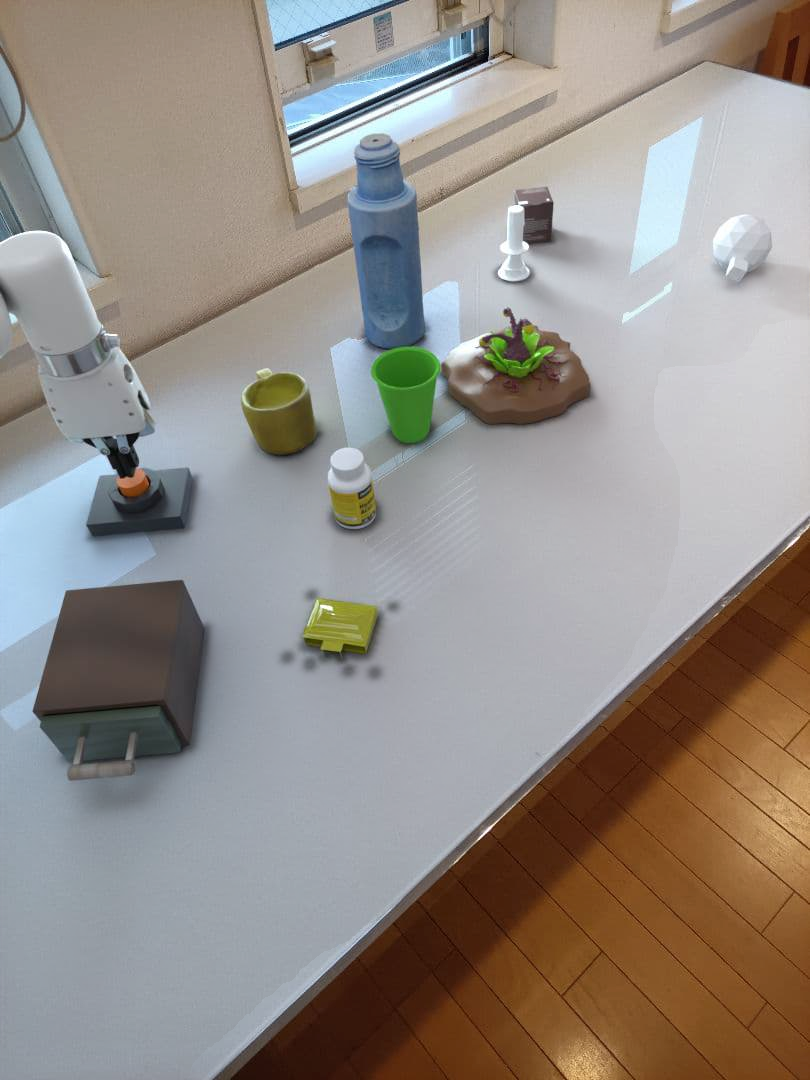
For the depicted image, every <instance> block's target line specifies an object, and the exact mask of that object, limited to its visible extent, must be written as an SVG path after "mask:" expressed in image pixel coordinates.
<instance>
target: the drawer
mask: <svg viewBox="0 0 810 1080" xmlns="http://www.w3.org/2000/svg"><path fill="white" fill-rule="evenodd" d="M39 728H40V730H41V732H43V733H44V735H45V736H47V738H48V739H49V740H50V741H51V743H52V744H53V745H54V746H55V747H56V749H57V750H58V751H59V752H60V753H61V754H62V756H63V757H64V758H65V760H66V761H67V762H68V763H70V762H72V765H69V766H68V767H67V772H66V776H67V781H69V782H77V781H85V780H87V781H88V780H97V779H108V778H119V777H120V778H121V777H131V776H135V774H136V773H137V771H136V770H137V765H136V761H135V757H139V756H150V755H151V756H153V755H162V754H172V753H181V749H182V746H181V740H180V738H179V737H178V735H177V733H176V731H175V730H174V728H173V726H172V725H171V723H170V721H169V720H168V718H167V716H166V714H165V713H164V711H163V709H162V708H161V706H159V705H147V706H136V707H125V708H114V709H102V710H91V711H80V712H69V713H61V715H50V716H42V719H41V721H40V724H39ZM118 758H125V760H117V761H116V760H115V761H107V762H106V761H105V762H93V763H85V764H84V763H83V761H84V762H85V761H94V760H105V759H107V760H108V759H118Z"/></svg>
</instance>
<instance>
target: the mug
mask: <svg viewBox="0 0 810 1080" xmlns="http://www.w3.org/2000/svg"><path fill="white" fill-rule="evenodd" d="M256 376H257V379H256V380H254V381H253V382H251V383H250V384H249V385H247V386H246V387H245V388H244V389H243V390H242V393H241V397H240V404H241V409H242V413H243V415H244V417H245V420H246V423H247V424H248V426H249V429H250V431H251V433H252V435H253V437H254V439H255V441H256V443H257V444H258V446H259V447H260V449H262V450H263V451H265V452H267V453H268V454H271V455H283V456H284V455H291V454H293V453H297V452H299V451H301V450H302V449H303V448H305V447H308V446H309V445H310V444H311V443H312V442H313V441H314V440H315V439H316V437H317V432H318V426H317V425H318V424H317V421H316V418H315V414H314V409H313V402H312V396H311V395H312V394H311V390H310V386H309V384H308V382H307V381H306V379H305V378H304V377H303V376H301V375H299V374H297V373H294V372H284V371H283V372H282V371H281V372H277V373H273V372H272V371H271V370H270V368H267V367H266V368H261V369H260V370H257V371H256Z"/></svg>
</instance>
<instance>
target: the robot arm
mask: <svg viewBox="0 0 810 1080" xmlns="http://www.w3.org/2000/svg"><path fill="white" fill-rule="evenodd" d="M10 314H11V315H13V316H15V318H16V319H17V322H18V324H19V325H20V328H21V329H22V331H23V333H24V336H25V338H26V339H27V341H28V344H29V345H30V347H31V350H32V351H33V353H34V355H35V357H36V359H37V361H38V365H37V372H38V377H39V382H40V385H41V386H40V387H41V389H42V392H43V395H44V399H45V401H46V403H47V406H48V409H49V411H50V414H51V416H52V418H53V420H54V422H55V424H56V426H57V428H58V429H59V431H60V433H61V434H62V435H63V436H64V437H65V440H66V441H68V442H71V443H85V444H87V445H89V446H90V447H93V448H95V449H97V451H98V452H99V453H100V455H102V456H106V457H107V460H108V462H109V464H110V466H111V468H112V470H115V471H116V474H118V475H119V477H120V479H123V478H125V477H129V478H133V477H134V474H135V469H136V468H139V465H140V458H139V455H138V453H137V451H136V449H135V446H134V445H135V444H136V442H137V440H138V439H139V438H141V437H142V438H143V437H146V436H149V435H153V434H154V433H155V431H156V426H157V423H156V422H155V420H154V419H153V418H152V416H151V415H150V413H149V412H148V411H151V402H150V399H149V397H148V394H147V393H146V390H145V388H144V386H143V384H142V382H141V380H140V377H139V376H138V375H137V372H136V370H135V369H134V367H133V366H132V364H131V362H130V361H129V359H128V358H127V356H126V355H125V353H124V352H123V351H122V350H121V348H120V347H121V338H120V335H119V334H118V333H117V334H112V333H108V332H107V331H106V328H105V326H104V325H103V324H102V323H101V321H100V319H99V317H98V314H97V312H96V309H95V307H94V305H93V303H92V301H91V298H90V296H89V293H88V291H87V289H86V286H85V283H84V281H83V279H82V276H81V274H80V271H79V269H78V267H77V264H76V263H75V260H74V257H73V254H72V252H71V250H70V249H69V247H68V245H67V243H66V242H65V241H64V240H63V238H61V237H60V236H58V235H57V234H56V233H53V232H49V231H44V230H31V231H25V232H22V233H18V234H15V235H13V236H10V237H8V238H7V239H5V240H3V241H0V359H2V358H3V357H4V356H5V355H6V354H7V352H8V351H9V349H10V347H11V343H12V340H13V324H12V320H11V316H10Z"/></svg>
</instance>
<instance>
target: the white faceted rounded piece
mask: <svg viewBox="0 0 810 1080" xmlns="http://www.w3.org/2000/svg"><path fill="white" fill-rule="evenodd" d="M772 238H773V237H772V231H771V229H770V228H769V226H768V223H766V221H765V219H764V218H763V217H759V216H756V215H754V214H751V213H746V214H740V215H733V216H732V217H731V218H729V219H728V220H727V221H726V222H725V223H722V225H721V226H719V228H718V229H717V231H716V234H715V235H714V237H713V240H712V250H713V258H714V259H715V260H716V262H717V263H718V265H719V266H720V268H721V269H723V270H725V271H726V272H725V278H726V279H729V280H732V281H734V282H737V283H740V282H741V280H742V279H743V277H744V276H745V275H746V273H749V272H752V271H754V270H755V269H756V268H757V267H760V265H762V264H763V263H764V262H765V261H766V259H767V257H768V256H769V254H770V252H771V251H772V248H773V240H772Z"/></svg>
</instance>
